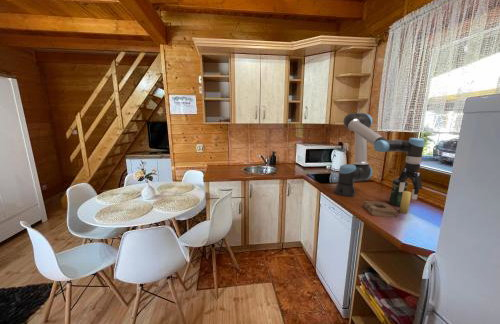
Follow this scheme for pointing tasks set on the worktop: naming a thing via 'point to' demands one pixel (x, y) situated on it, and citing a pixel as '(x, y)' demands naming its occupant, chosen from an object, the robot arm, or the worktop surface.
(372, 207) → the socket block
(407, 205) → the peg
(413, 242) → the worktop surface
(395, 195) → the coffee jar
